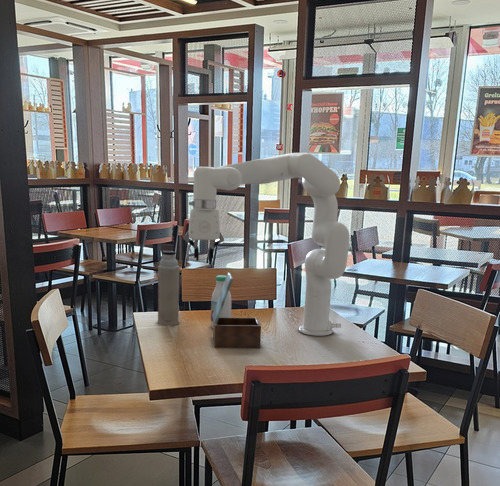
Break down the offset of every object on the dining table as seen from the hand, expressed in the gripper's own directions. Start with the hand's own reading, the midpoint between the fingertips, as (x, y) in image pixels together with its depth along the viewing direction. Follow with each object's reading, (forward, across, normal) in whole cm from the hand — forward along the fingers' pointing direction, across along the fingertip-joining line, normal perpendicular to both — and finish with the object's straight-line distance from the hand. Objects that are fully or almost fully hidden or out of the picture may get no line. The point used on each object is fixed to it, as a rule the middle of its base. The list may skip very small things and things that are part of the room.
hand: (203, 259), depth 193 cm
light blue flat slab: (+13, +7, 0) cm, 15 cm away
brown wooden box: (+29, +12, 0) cm, 32 cm away
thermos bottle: (+29, -12, +26) cm, 41 cm away
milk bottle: (+29, +8, +20) cm, 36 cm away
